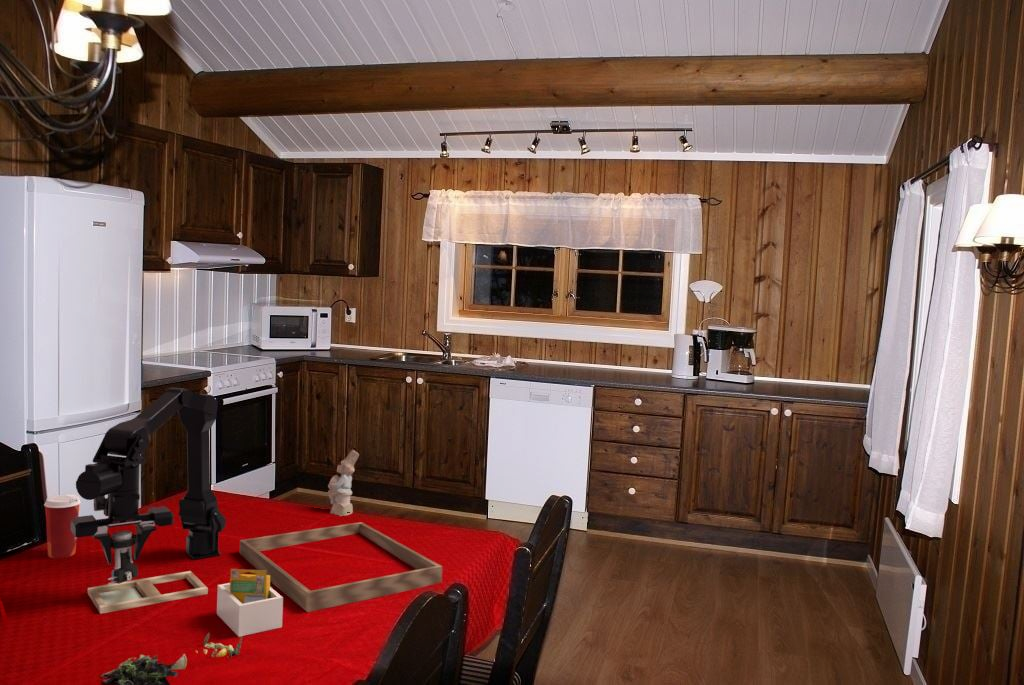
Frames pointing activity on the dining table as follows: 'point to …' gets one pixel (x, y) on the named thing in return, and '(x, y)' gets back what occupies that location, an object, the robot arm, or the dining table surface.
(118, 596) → the wooden double frame
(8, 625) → the dining table surface
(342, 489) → the figurine
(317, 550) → the dining table surface
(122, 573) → the push button
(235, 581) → the crayon box
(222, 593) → the crayon stand
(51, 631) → the dining table surface
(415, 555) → the tray rim
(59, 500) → the paper cup
